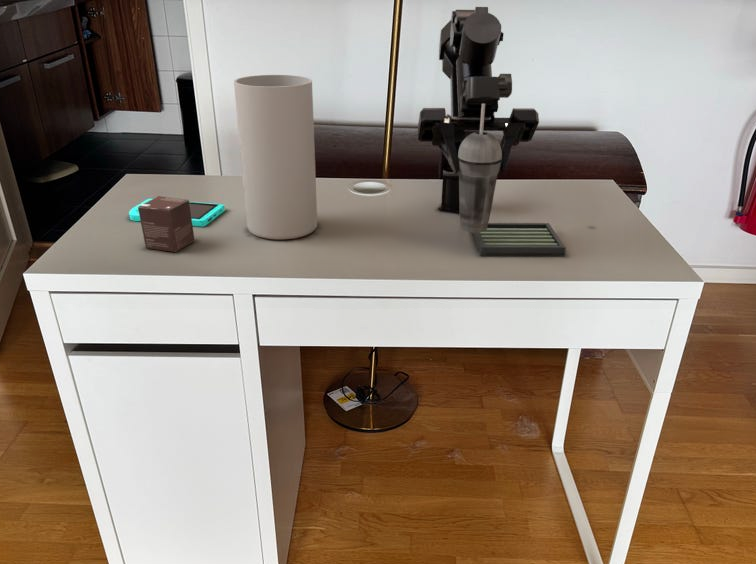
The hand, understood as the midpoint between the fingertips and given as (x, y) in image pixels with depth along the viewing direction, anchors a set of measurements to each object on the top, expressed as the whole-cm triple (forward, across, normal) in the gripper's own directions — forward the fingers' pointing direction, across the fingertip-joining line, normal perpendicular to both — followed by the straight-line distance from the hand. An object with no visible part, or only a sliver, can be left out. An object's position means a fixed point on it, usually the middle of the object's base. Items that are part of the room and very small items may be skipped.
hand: (479, 172), depth 108 cm
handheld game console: (-4, -54, +23) cm, 58 cm away
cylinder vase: (+2, -33, +18) cm, 37 cm away
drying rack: (+7, +8, +12) cm, 16 cm away
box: (+7, -51, +12) cm, 53 cm away
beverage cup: (+6, 0, +8) cm, 10 cm away
